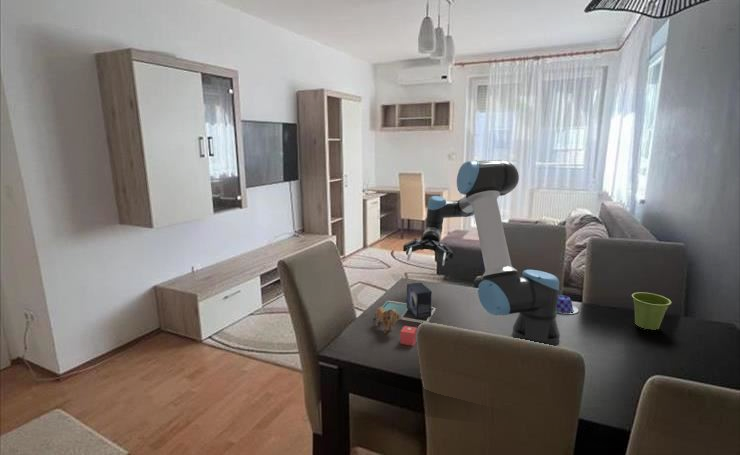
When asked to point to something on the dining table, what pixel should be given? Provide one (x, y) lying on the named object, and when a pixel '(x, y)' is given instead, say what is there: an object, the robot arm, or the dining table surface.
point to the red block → (408, 335)
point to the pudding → (565, 305)
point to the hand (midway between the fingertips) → (425, 260)
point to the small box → (419, 300)
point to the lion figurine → (387, 317)
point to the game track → (403, 310)
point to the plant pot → (649, 309)
